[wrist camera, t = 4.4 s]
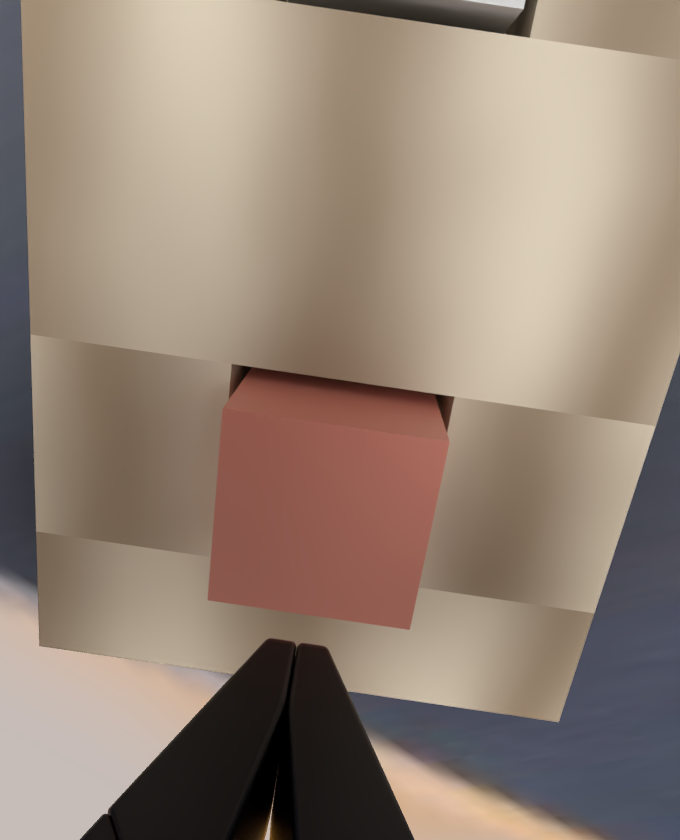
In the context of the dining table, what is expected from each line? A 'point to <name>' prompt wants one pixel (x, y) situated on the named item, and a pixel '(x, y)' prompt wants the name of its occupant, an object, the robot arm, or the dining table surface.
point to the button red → (325, 497)
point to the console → (349, 308)
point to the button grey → (435, 11)
